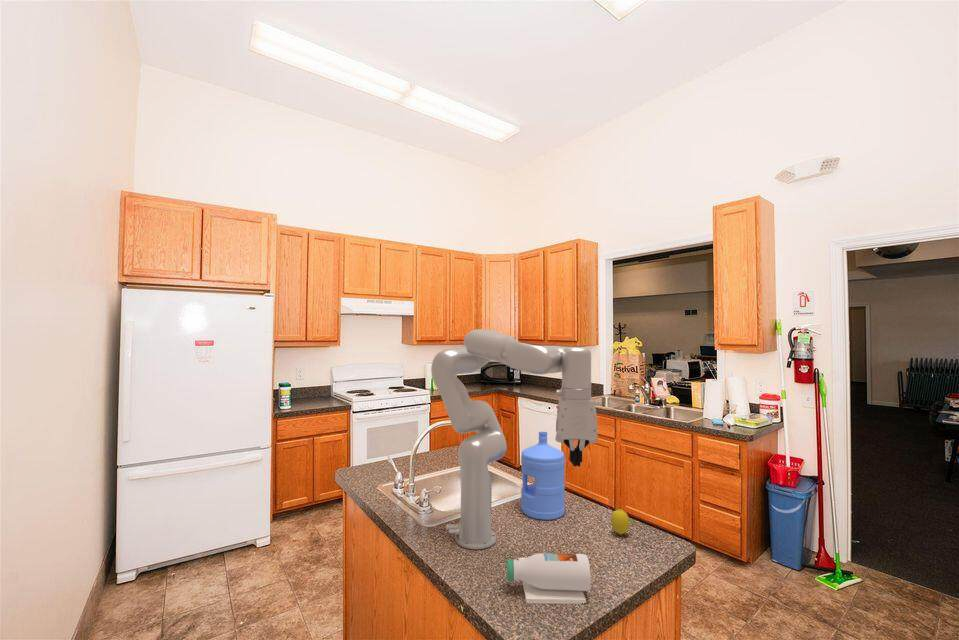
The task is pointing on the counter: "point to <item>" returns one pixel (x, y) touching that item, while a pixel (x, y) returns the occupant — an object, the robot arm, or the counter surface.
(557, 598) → the cutting board
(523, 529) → the counter surface
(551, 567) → the milk bottle
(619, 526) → the lemon
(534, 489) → the water jug
